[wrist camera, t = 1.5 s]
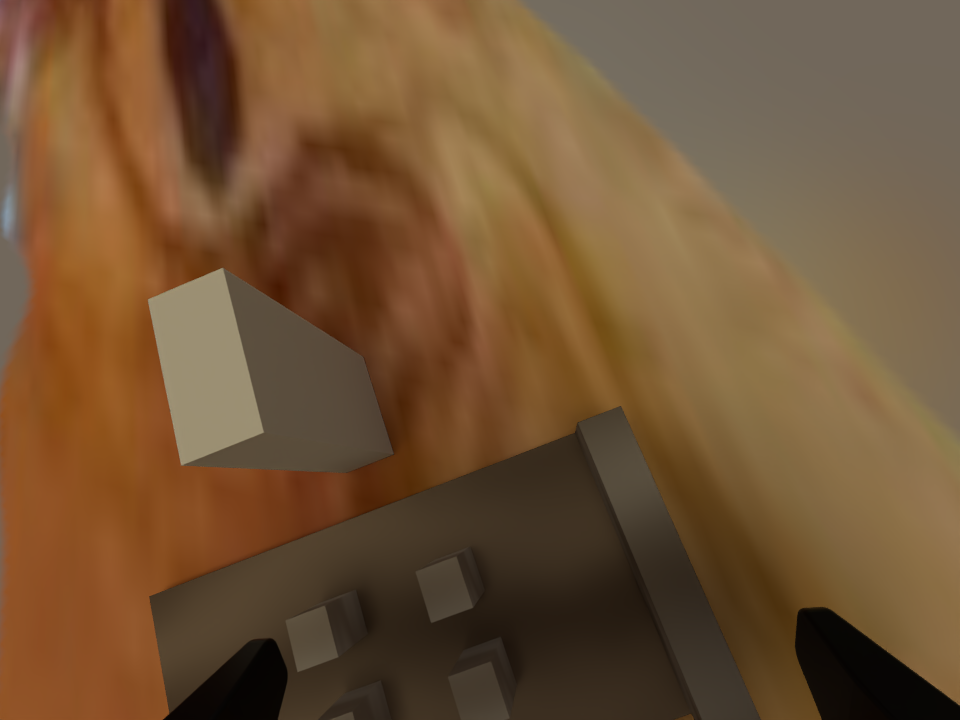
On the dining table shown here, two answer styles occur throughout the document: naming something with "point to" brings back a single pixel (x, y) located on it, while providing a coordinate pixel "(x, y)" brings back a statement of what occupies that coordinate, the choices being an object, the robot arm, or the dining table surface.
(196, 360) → the rectangular block
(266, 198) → the dining table surface
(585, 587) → the stand
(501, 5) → the dining table surface
